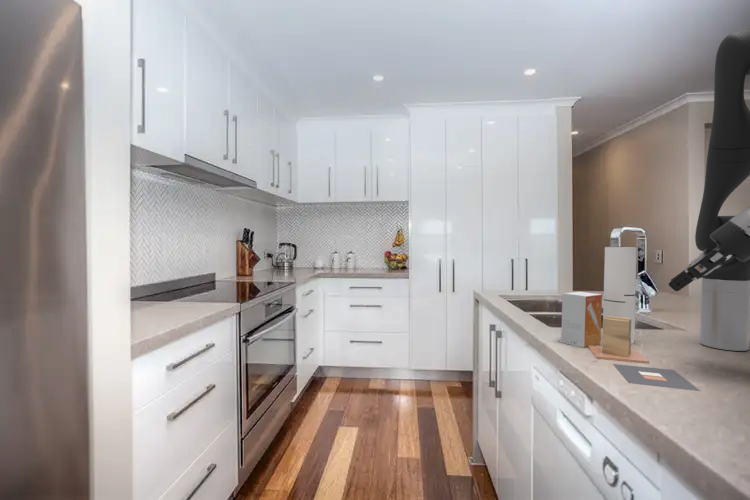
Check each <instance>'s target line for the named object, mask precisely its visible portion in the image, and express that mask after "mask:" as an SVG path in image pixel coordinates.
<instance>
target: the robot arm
mask: <svg viewBox="0 0 750 500" xmlns="http://www.w3.org/2000/svg"><path fill="white" fill-rule="evenodd" d="M747 76H750V28H749V29H744V30H739V31H735V32H732V33H729V34H728V35H726V36H725V37H724V38H723V40H722V41H721V42H720V44H719V46H718V48H717V52H716V55H715V64H714V88H713V89H714V91H713V93H714V96H713V97H714V99H713V111H712V112H713V114H712V123H711V130H710V137H709V141H708V142H709V143H708V149H707V155H706V164H705V165H706V166H705V176H704V188H703V194H702V199H701V204H700V208H699V209H700V210H699V213H698V217H697V223H696V227H695V228H696V229H695V235H694V237H695V238H694V239H695V245H696V248H697V249H698V250H699V251H701V253H699V255H698V256H697V257H696V258H694V259H693V260H691V261H690V264H688V265H687V266H686V267H685V268H684V270H682V271H681V272H679V274H677V275H675V276H674V277H673V278H671V280H670V282H668V286H669V288H671V289H672V290H673V291H675V292H680V291H682V289H684V288H685V287H686V286H688V285H690V284H692V282H695V281H697V280H699V279H701V293H700V294H701V298H700V299H701V300H700V328H699V329H700V331H699V332H700V333H699V334H700V335H699V343H700V344H701V345H703V346H705V347H709V348H713V349H719V350H725V351H735V352H737V351H738V352H739V351H740V352H743V351H749V350H750V349H749V346H750V345H749V344H750V206H748V207H746V208H745V209H743V210H741V211H740V212H739V213H736V215H719V213H720V211H721V209H722V206H723V205H724V203H725V201H727V199H728V198H729V196H730V195H731V194H732V193H733V192H734V191H735V190H736V189H737V188H738V187H739V186H741V184H742V183H744V181H746V180H747V179H748V178H749V176H750V110H749V107H748V105H747V103H746V100H745V83H746V82H745V81H746V77H747ZM728 256H730V257H729V258H727V257H728Z"/></svg>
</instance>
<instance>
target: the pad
mask: <svg viewBox="0 0 750 500" xmlns="http://www.w3.org/2000/svg"><path fill="white" fill-rule="evenodd" d="M587 348H588V350H589V351H590V352H591V353H592V354H593V357H595V359H597V360H603V361H604V360H606V361H615V362H627V363H636V364H645V365H646V364H647V365H649V364H650V360H648V359H647V358H646V357H644V355H642V354H641V353H640V352H639V351H637V350H636V349H635V348H631V353H630V354H629V356H628V357H623V356H617V355H611V354H605V353H602V345H601V346H599V345H593V346H591V345H588V347H587Z"/></svg>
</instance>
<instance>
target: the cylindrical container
mask: <svg viewBox="0 0 750 500" xmlns="http://www.w3.org/2000/svg"><path fill="white" fill-rule="evenodd" d="M603 269H604V270H603V276H604V277H603V305H602V307H603V309H602V311H603V312H602V314H603V315H602V316H603V317H602V319H603V318H604V317H606V316H615V317H624V318H631V345H632V344H634V343H635V325H636V321H635V319H636V291H637V289H636V288H637V287H636V284H637V247H625V246H624V247H623V246H622V247H621V246H619V247H618V246H617V247H616V246H615V247H614V246H605V247H604V267H603Z"/></svg>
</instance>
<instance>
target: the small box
mask: <svg viewBox="0 0 750 500" xmlns="http://www.w3.org/2000/svg"><path fill="white" fill-rule="evenodd" d="M561 295H562V297H561V298H562V299H561V302H562V303H561V333H560V335H561V336H560V338H561V339H560V342H561V343H562V344H566V345H570V346H573V347H579V348H588V345H591V346H598V345H601V342H602V341H601V340H602V339H601V335H602V334H601V333H602V311H603V309H602V307H603V305H602V303H603V294H601V293H593V292H587V291H572V292H565V293H562V294H561Z"/></svg>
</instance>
